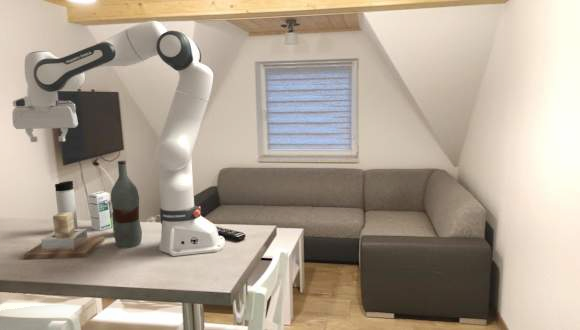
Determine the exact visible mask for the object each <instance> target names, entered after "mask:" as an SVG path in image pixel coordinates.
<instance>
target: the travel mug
mask: <svg viewBox="0 0 580 330" xmlns="http://www.w3.org/2000/svg"><path fill="white" fill-rule="evenodd" d="M54 187H55V191H54V192H55V198H56V206H57V214H58V213H69V212H73V221H74V229H79V227H78V219H77V208H76V199H75V191H74V190H75V189H74V181H73V180H66V181H62V182H59V183H55V184H54Z"/></svg>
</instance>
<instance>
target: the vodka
mask: <svg viewBox="0 0 580 330" xmlns="http://www.w3.org/2000/svg"><path fill="white" fill-rule="evenodd" d="M117 167H118V169H117V171H118V178H117V180H116V182H115V183H114V185H112V189H111V192H110V204H111V209H112V212H113V214H114V220H115V224H114V231H113V236H114V242H115V244H116V247H117V248H120V249H129V248H135V247H137V246H139V245H141V243H142V239H143V229H142V225H141V221H140V196H139V195H140V194H139V190H138V188H137V186H136V185H135V184H134V182H133V181H132V180H131V179H130V178H129V176H128V171H127V161H126V160H118V161H117Z"/></svg>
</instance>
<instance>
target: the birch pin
mask: <svg viewBox="0 0 580 330" xmlns="http://www.w3.org/2000/svg"><path fill="white" fill-rule="evenodd" d="M52 220H53V229H54V230H53V232H54V231H55V237H70V236H72V235H73V234H75V231H74V221H73V212H69V213H58V212H57V213H56V214H54V215H53V216H52Z"/></svg>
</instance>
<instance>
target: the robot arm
mask: <svg viewBox="0 0 580 330" xmlns="http://www.w3.org/2000/svg"><path fill="white" fill-rule="evenodd" d="M156 56H158V57H159V58H160V59H161V60H162V61H163V62H164V63H165V64H167V66H169V67H171V69H173V70H174V71H177V72H178V77H179V79H178V83H177V86H176V89H175V91H174V94H173V98H172V102H171V104H170V107H169V110H168V113H167V116H166V119H165V122H164V125H163V128H162V131H161V133H160V136H159V140H158V142H157V144H156V149H155V158H156V161H157V162H158V165H159V169H158V170H159V195H160V208H159V219H160V224H161V232H160V233H161V236H160V241H159V242H160V243H159V245H158V246H159V247H158V249H159V251H161V252H162V253H166V254H168V255H170V256H173V257H176V256H179V257H180V256H185V255H186V256H187V255H188V256H189V255H196V254H204V253H206V254H207V253H216V252H219V251H220V250H222V249H223V248H224V247H225V244H226V239H225V237H224V236H222V235H219V233H218V232H219V231H218V229H217V226H216V224H214V223H213V222H212V221H210V220H208V219H207V218H206V217H203V216H202V213H201V210H202V209H201V206H197V205H196V204H195V196H194V194H195V193H194V178H193V175H194V174H193V161H192V160H193V159H192V157H193V156H192V155H193V150H194V147H195V143H196V142H197V141H196V140H197V138H198V135H199V131H200V127H201V125H202V122H203V118H204V115H205V112H206V110H207V106H208V103H209V100H210V97H211V93H212V88H213V82H214V73H213V71H212V69H211V68H210V67H209V66H208V65H205V64H203V63H202V52H201V50H200V47H199V46H198V45H197V44H196V43H195V42H194V40H192V39H191V38H190V37H189V36H187V35H186V34H184V33H183V32H181V31H178V30H167V28H166V27H165V26H164V25H163V24H162V23H161V22H159V21H157V20H150V21H144V22H142V23H138V24H135V25H133V26H131V27H130V26H129V27H128V28H126V29H124V30H121V31H119V32H118V33H116V34H113V35H111V36H110V37H108V38H106V39H105V40H102V41H100V42H98V43H96V44H94V45H92V46H88V47H86V48H84V49H81V50H78V51H76V52H73V53H71V54H69V55H66V56H64V57H63V56H62V57H57V56H56V55H54V54H53V53H52V52H50V51H46V50H39V51H33V52H29V53H28V54H26V55H25V58H24V76H25V78H24V79H25V81H26V84H27V90H26V91H27V92H26V94H27V95H26V96H23V97H21V98H20V97H19V98H18V99H15V100H13V101H12V106H13V107H14V108H13V110H12V114H11V115H12V125H13V127H14V128H15V129H16V130H24V131H25V133H26V134H27V136H28V137H29V140H30V143H37V142H38V136H35V134H34V133H33V132H34V129H35V130H36V129H37V130H38V129H39V130H40V129H60V132H61V135H59V136H58V142H66V135H67V133H68V131H69V129H73V128H77V127H78V125H79V122H78V115H77V113H76V111H77V106H76V104H75V103H74V102H73V101H71V100H59V95H58V91H59V92H61V91H62V92H63V91H65V92H66V91H67V92H69V91H70V92H71V91H75V90H79V89H80V88H82V87H83V86H84V84H85V82H86V74H85V73H87V72H89V71H91V70H94V69H97V68H102V67H127V66H132V65H133V66H134V65H137V64H139V63H141V62H144V61H146V60H149V59H150V58H153V57H156Z"/></svg>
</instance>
